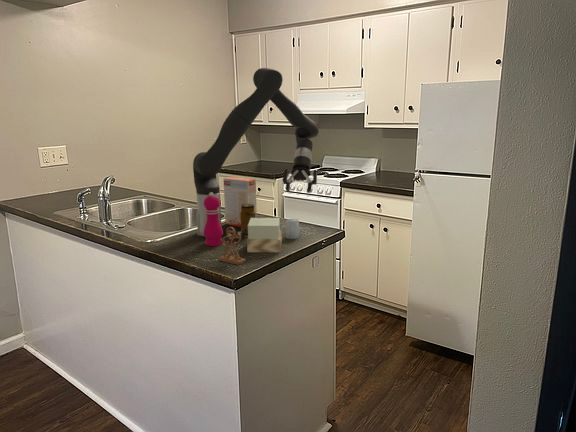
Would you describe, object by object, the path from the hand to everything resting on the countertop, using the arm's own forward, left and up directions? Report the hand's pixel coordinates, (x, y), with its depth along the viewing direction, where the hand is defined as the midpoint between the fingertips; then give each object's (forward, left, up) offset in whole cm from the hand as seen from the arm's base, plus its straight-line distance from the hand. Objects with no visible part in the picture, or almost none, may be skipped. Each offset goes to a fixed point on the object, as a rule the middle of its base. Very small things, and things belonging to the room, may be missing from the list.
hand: (298, 191), depth 181 cm
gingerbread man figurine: (-22, -38, -16) cm, 47 cm away
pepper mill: (-32, -19, -16) cm, 41 cm away
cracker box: (-25, +7, -16) cm, 31 cm away
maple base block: (-12, -23, -17) cm, 31 cm away
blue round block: (-2, -11, -16) cm, 20 cm away
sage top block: (-12, -23, -12) cm, 29 cm away
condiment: (-20, -6, -17) cm, 27 cm away
